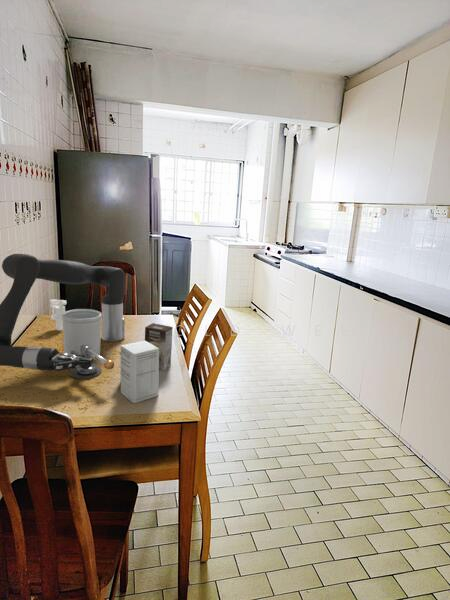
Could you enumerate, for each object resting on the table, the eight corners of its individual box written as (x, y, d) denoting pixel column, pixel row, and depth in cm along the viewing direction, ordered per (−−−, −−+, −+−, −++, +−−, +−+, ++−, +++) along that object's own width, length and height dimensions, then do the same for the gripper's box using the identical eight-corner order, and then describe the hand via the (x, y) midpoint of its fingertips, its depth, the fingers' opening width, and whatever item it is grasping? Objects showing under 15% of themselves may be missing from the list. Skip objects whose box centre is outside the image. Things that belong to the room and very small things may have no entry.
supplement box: (145, 385, 135) (146, 339, 131) (159, 396, 128) (160, 347, 125) (119, 392, 129) (119, 344, 125) (132, 404, 122) (133, 353, 118)
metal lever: (73, 370, 141) (73, 346, 139) (91, 366, 146) (91, 342, 144) (102, 390, 128) (101, 364, 125) (120, 384, 133) (121, 359, 130)
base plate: (77, 365, 148) (77, 364, 148) (105, 367, 148) (105, 366, 147) (64, 377, 137) (64, 376, 137) (95, 379, 137) (95, 378, 137)
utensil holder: (109, 353, 162) (109, 312, 158) (83, 364, 149) (82, 320, 145) (82, 346, 168) (81, 306, 164) (54, 356, 155) (53, 314, 151)
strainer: (49, 328, 188) (48, 298, 185) (65, 326, 192) (64, 297, 189) (53, 332, 183) (52, 301, 179) (69, 330, 187) (68, 300, 183)
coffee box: (143, 366, 151) (143, 326, 147) (151, 360, 157) (152, 322, 153) (164, 370, 148) (165, 330, 145) (171, 365, 154) (173, 326, 151)
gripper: (50, 361, 138) (98, 365, 137) (30, 377, 125) (84, 381, 125) (49, 341, 136) (98, 345, 136) (29, 355, 123) (83, 359, 123)
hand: (91, 362), depth 130 cm, fingers closed
